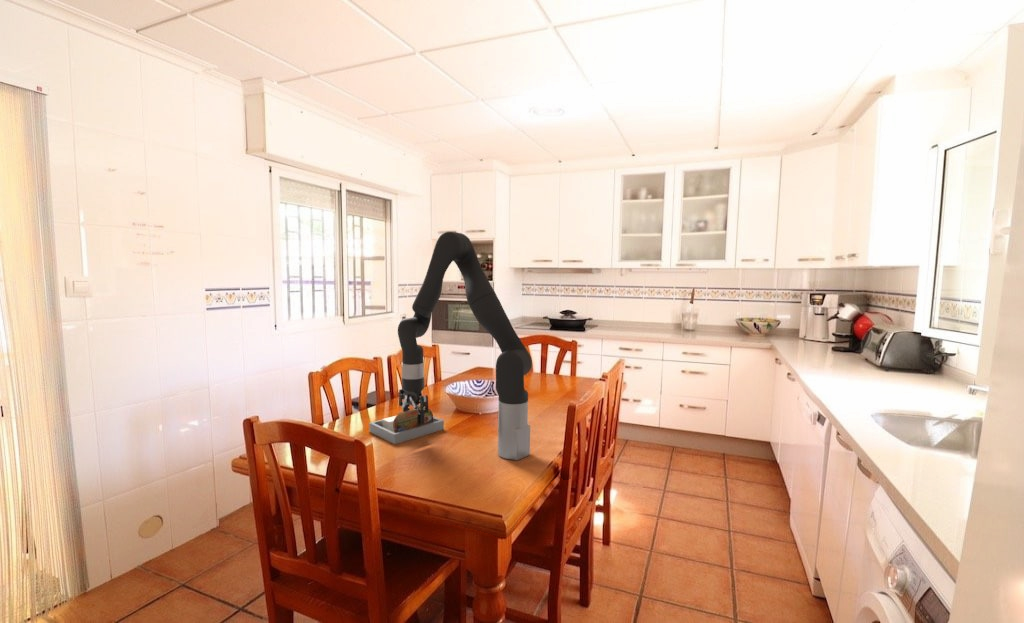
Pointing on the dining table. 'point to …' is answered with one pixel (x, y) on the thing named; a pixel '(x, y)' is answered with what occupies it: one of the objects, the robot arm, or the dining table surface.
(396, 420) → the tin
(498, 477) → the dining table surface
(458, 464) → the dining table surface
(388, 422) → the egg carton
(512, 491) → the dining table surface
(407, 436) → the tray
